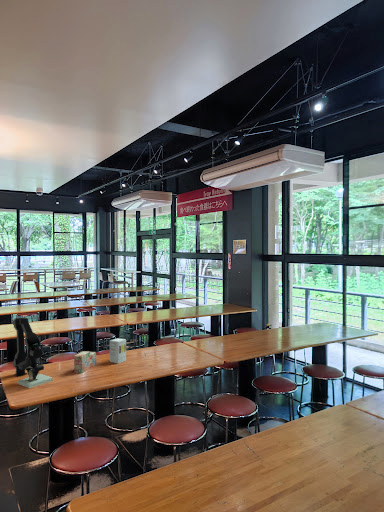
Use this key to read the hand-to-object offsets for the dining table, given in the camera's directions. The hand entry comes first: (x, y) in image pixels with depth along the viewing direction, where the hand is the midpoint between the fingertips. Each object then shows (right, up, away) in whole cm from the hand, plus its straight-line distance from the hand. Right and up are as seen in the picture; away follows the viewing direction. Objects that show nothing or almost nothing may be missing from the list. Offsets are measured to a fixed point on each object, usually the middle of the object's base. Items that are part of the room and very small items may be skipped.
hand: (32, 379), depth 225 cm
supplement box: (+46, -2, +46) cm, 65 cm away
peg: (0, -2, 0) cm, 2 cm away
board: (+1, -3, +2) cm, 3 cm away
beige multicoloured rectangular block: (+26, -3, +29) cm, 39 cm away
